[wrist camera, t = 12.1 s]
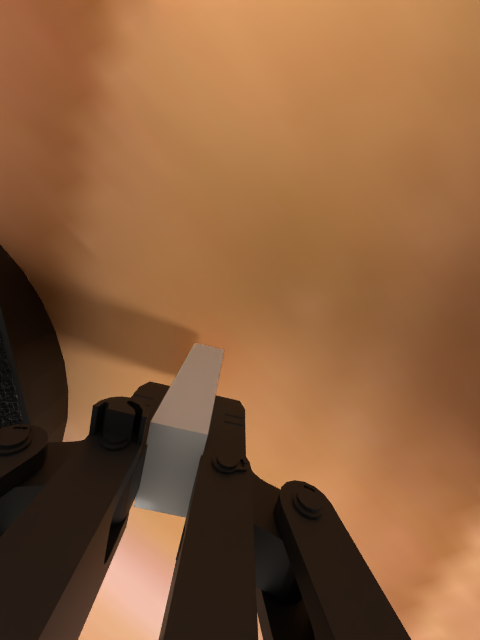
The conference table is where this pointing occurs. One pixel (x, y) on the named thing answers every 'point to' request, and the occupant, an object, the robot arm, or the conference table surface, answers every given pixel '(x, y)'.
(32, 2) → the conference table surface
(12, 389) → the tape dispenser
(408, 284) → the conference table surface
